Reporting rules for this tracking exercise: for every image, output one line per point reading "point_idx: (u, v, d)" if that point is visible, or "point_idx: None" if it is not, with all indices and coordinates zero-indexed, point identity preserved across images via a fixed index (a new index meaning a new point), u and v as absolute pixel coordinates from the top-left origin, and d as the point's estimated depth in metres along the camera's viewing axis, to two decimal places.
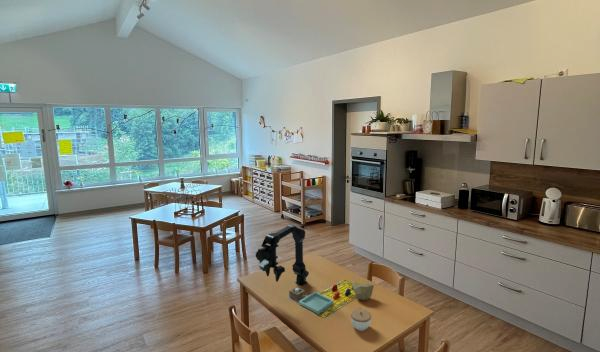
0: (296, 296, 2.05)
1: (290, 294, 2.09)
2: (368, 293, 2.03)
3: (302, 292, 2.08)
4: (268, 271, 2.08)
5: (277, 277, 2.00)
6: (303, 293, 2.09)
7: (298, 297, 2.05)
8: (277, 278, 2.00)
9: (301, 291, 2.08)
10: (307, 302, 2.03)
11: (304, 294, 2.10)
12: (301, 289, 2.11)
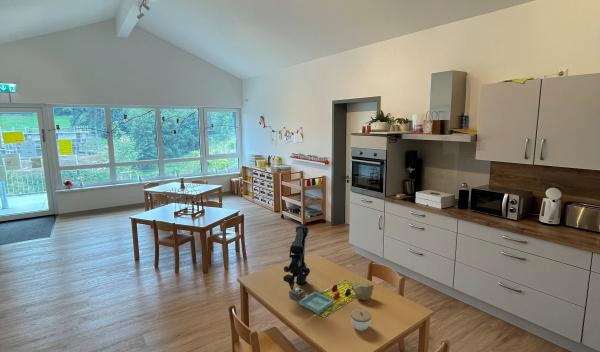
0: (296, 296, 2.05)
1: (290, 294, 2.09)
2: (368, 293, 2.03)
3: (302, 292, 2.08)
4: (302, 280, 2.11)
5: (290, 285, 2.04)
6: (303, 293, 2.09)
7: (298, 297, 2.05)
8: (290, 286, 2.05)
9: (301, 291, 2.08)
10: (307, 302, 2.03)
11: (304, 294, 2.10)
12: (301, 289, 2.11)
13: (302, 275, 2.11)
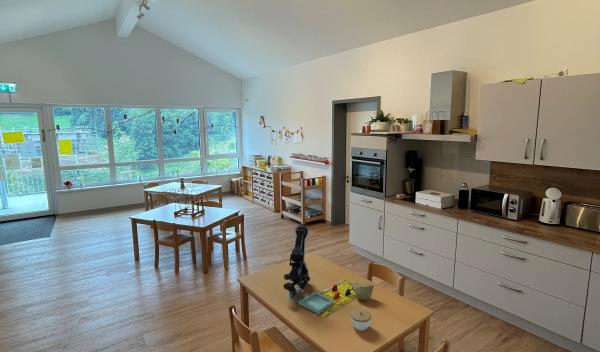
0: (296, 296, 2.05)
1: (290, 294, 2.09)
2: (368, 293, 2.03)
3: (302, 292, 2.08)
4: (301, 288, 2.11)
5: (291, 292, 2.06)
6: (303, 293, 2.09)
7: (298, 297, 2.05)
8: (291, 293, 2.06)
9: (301, 291, 2.08)
10: (307, 302, 2.03)
11: (304, 294, 2.10)
12: (301, 289, 2.11)
13: (301, 283, 2.12)
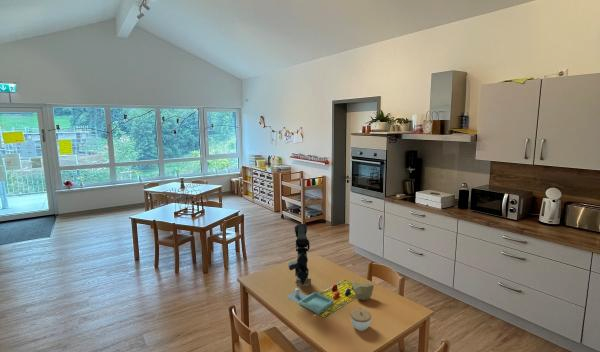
0: (306, 282, 2.02)
1: (298, 283, 2.02)
2: (368, 293, 2.03)
3: None
4: None
5: (301, 280, 2.00)
6: None
7: (308, 282, 2.03)
8: (302, 281, 2.00)
9: None
10: (307, 302, 2.03)
11: None
12: None
13: None
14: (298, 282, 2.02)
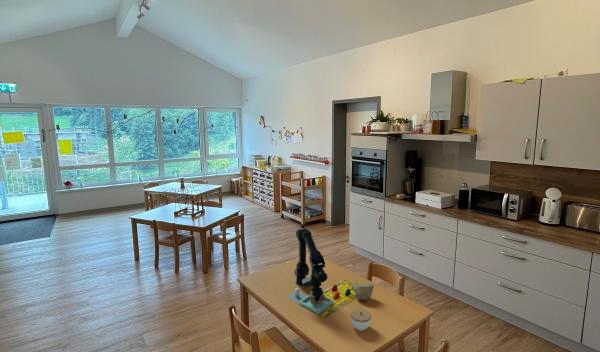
0: (321, 299, 1.98)
1: (312, 300, 1.98)
2: (368, 293, 2.03)
3: None
4: None
5: (316, 297, 1.96)
6: None
7: None
8: (316, 298, 1.97)
9: None
10: (307, 302, 2.03)
11: None
12: None
13: None
14: (312, 299, 1.98)
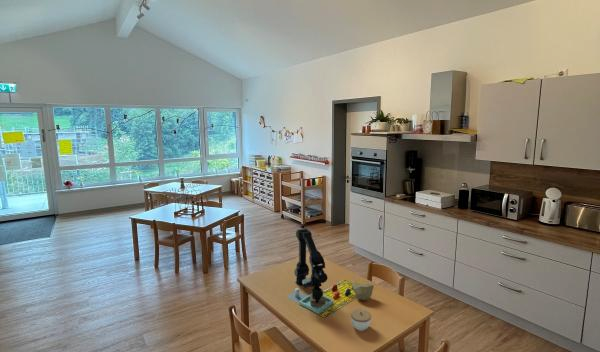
0: (321, 302, 1.98)
1: (312, 303, 1.98)
2: (368, 293, 2.03)
3: None
4: None
5: (316, 299, 1.95)
6: None
7: None
8: (316, 300, 1.96)
9: None
10: (307, 302, 2.03)
11: None
12: None
13: None
14: (312, 303, 1.98)
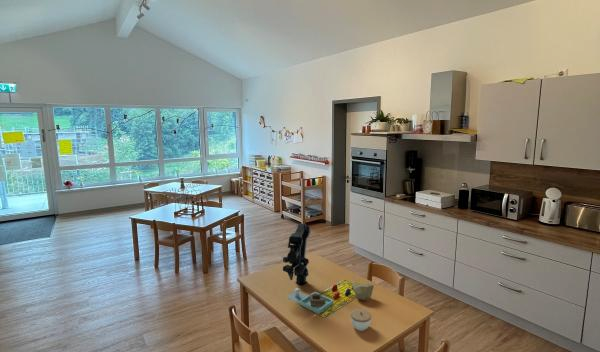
0: (321, 302, 1.98)
1: (312, 303, 1.98)
2: (368, 293, 2.03)
3: (321, 296, 2.03)
4: (301, 270, 2.14)
5: (289, 275, 2.07)
6: (321, 297, 2.04)
7: None
8: (289, 276, 2.07)
9: (320, 296, 2.03)
10: (307, 302, 2.03)
11: None
12: (317, 294, 2.04)
13: (301, 265, 2.14)
14: (312, 303, 1.98)
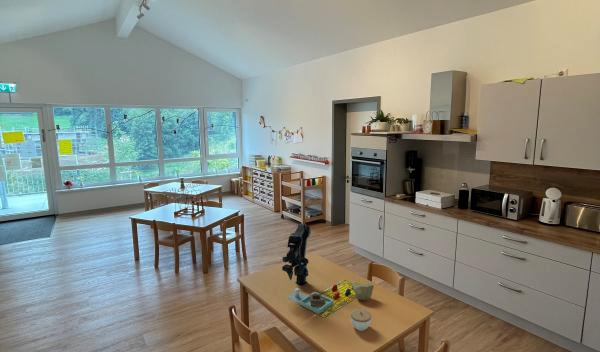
0: (321, 302, 1.98)
1: (312, 303, 1.98)
2: (368, 293, 2.03)
3: (321, 296, 2.03)
4: (301, 270, 2.14)
5: (288, 275, 2.07)
6: (321, 297, 2.04)
7: None
8: (289, 276, 2.07)
9: (320, 296, 2.03)
10: (307, 302, 2.03)
11: None
12: (317, 294, 2.04)
13: (301, 265, 2.14)
14: (312, 303, 1.98)
